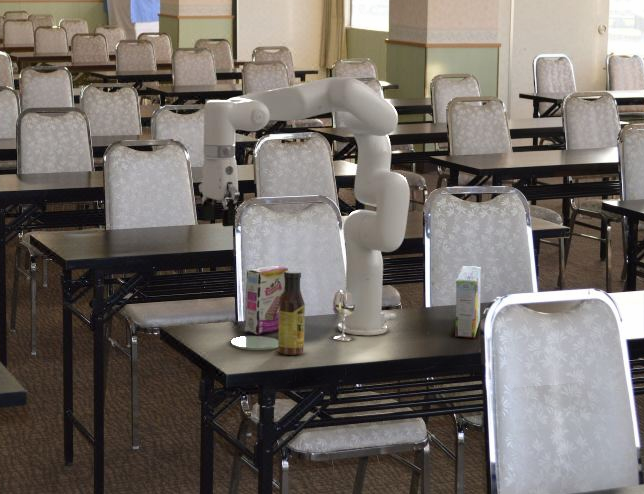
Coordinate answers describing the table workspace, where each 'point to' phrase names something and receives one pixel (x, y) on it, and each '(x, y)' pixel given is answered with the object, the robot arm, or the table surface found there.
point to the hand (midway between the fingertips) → (218, 223)
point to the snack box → (468, 301)
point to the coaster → (255, 343)
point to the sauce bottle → (291, 316)
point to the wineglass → (343, 308)
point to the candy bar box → (263, 299)
